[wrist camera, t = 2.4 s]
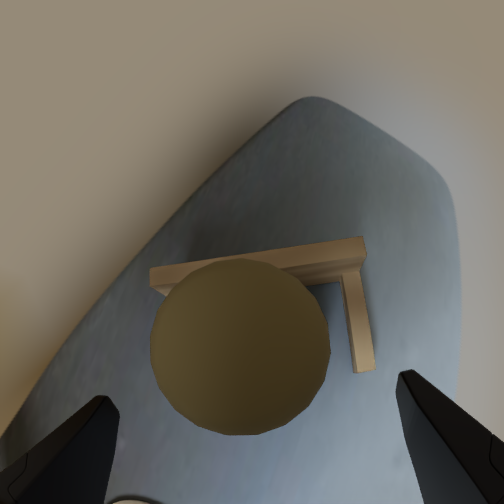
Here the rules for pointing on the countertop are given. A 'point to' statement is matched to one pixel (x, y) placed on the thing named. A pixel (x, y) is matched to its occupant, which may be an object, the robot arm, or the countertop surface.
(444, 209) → the countertop surface
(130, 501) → the saucer
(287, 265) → the holder
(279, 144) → the countertop surface
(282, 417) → the cork
